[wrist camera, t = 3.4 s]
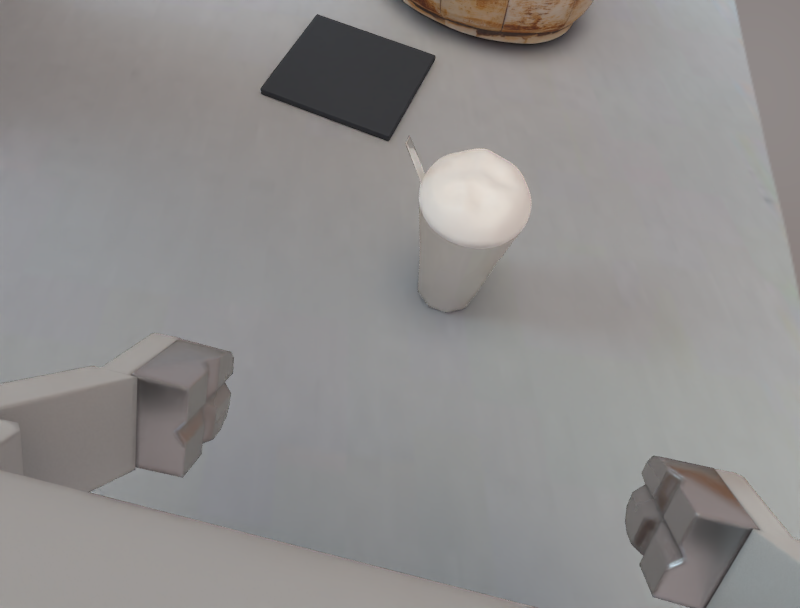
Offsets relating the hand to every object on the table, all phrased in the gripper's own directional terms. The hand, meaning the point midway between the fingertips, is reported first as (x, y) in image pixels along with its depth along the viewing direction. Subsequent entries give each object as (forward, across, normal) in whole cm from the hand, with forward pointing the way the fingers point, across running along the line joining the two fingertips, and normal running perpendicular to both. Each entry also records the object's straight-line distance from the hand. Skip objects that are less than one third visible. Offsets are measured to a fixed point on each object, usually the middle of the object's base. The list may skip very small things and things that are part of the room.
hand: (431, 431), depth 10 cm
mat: (+28, +9, -7) cm, 30 cm away
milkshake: (+18, 0, +3) cm, 18 cm away
